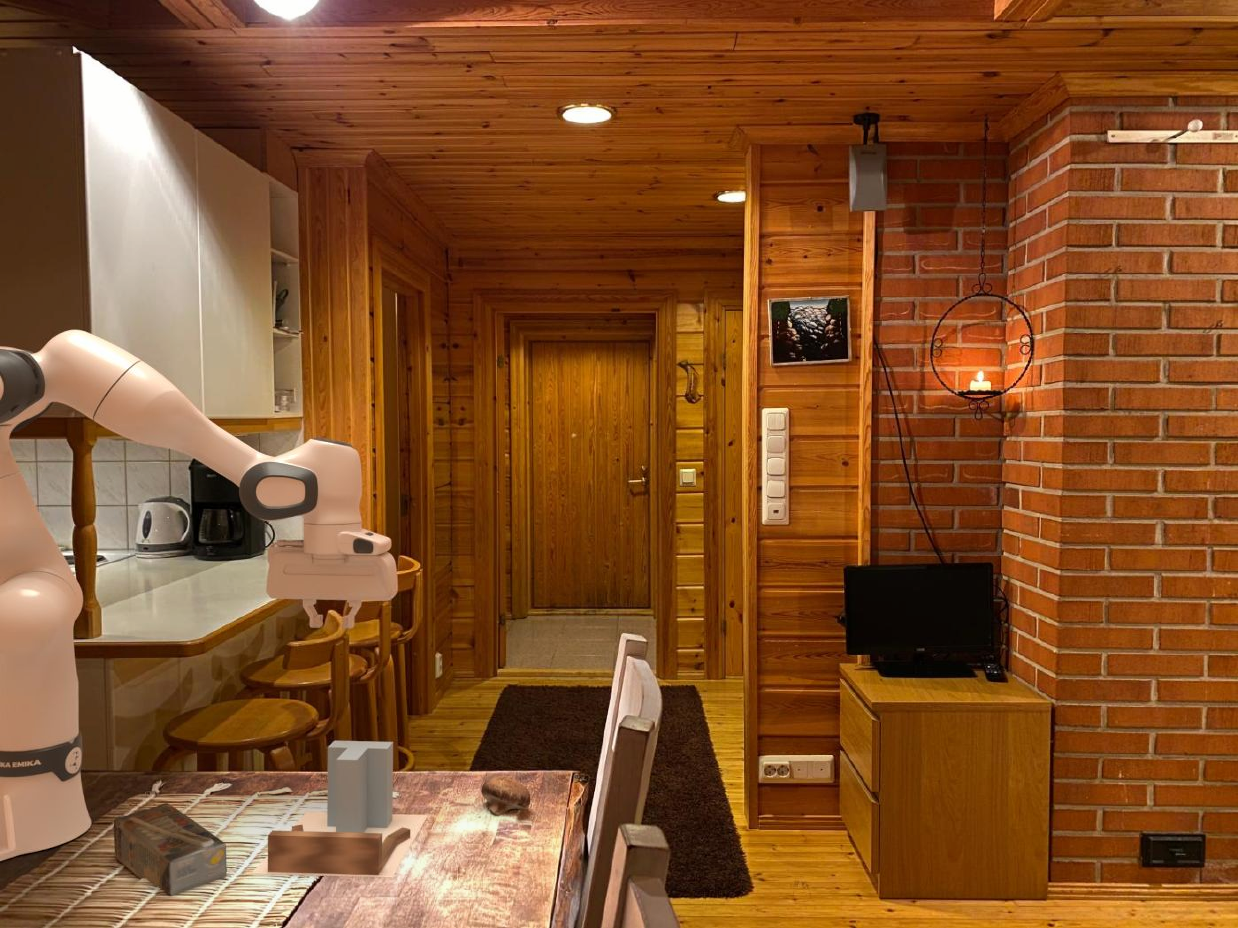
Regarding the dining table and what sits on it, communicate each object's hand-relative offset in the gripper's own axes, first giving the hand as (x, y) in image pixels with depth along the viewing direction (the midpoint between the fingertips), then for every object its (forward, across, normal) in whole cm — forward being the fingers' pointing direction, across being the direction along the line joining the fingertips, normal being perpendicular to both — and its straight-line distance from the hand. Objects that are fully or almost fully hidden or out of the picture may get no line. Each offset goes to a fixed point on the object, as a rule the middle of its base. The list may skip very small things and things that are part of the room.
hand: (332, 627), depth 145 cm
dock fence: (+28, +7, -18) cm, 34 cm away
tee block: (+28, +7, -10) cm, 31 cm away
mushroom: (+29, +28, 0) cm, 41 cm away
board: (+29, +7, -14) cm, 33 cm away
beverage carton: (+30, -15, -22) cm, 40 cm away
